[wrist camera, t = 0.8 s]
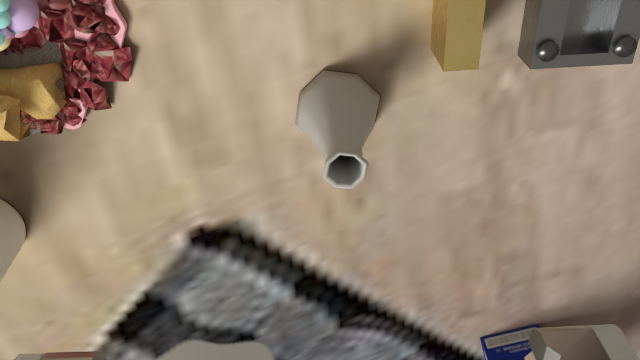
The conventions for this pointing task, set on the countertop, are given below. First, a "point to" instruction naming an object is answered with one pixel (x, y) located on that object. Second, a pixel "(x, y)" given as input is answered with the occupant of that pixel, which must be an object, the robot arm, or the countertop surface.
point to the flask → (339, 123)
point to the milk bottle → (10, 235)
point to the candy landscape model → (57, 63)
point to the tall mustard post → (457, 33)
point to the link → (579, 33)
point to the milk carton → (508, 344)
